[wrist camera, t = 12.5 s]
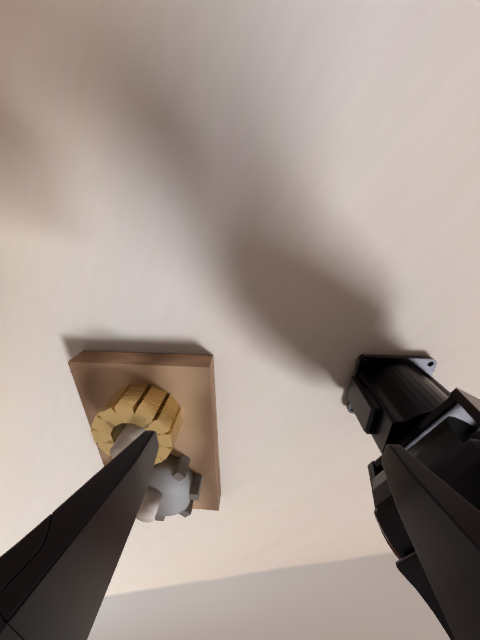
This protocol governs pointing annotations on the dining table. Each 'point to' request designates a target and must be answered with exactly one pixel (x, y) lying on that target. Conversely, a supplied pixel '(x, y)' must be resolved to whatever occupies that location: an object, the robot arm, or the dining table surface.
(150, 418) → the brass gear
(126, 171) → the dining table surface
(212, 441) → the gear board
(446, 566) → the robot arm
